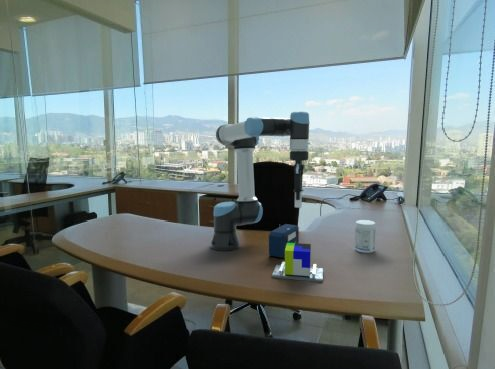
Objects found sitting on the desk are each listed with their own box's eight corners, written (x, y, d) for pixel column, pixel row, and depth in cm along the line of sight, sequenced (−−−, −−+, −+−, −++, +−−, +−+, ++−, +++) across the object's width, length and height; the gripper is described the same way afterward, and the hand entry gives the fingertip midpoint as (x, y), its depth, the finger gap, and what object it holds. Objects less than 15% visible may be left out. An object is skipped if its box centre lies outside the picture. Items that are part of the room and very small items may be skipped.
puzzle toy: (310, 276, 126) (310, 251, 125) (284, 274, 128) (284, 250, 127) (310, 266, 136) (310, 244, 134) (287, 264, 138) (287, 242, 136)
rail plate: (272, 277, 129) (272, 270, 129) (276, 267, 140) (276, 260, 139) (322, 282, 124) (322, 274, 124) (322, 271, 135) (323, 264, 134)
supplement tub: (364, 246, 167) (365, 218, 165) (379, 251, 158) (380, 222, 156) (350, 249, 162) (351, 221, 160) (364, 254, 154) (365, 225, 152)
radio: (283, 260, 148) (283, 218, 146) (267, 257, 153) (267, 216, 150) (301, 247, 166) (301, 210, 163) (285, 245, 170) (285, 208, 168)
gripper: (307, 151, 122) (305, 211, 125) (309, 149, 134) (308, 204, 138) (287, 151, 124) (286, 210, 127) (292, 149, 136) (291, 203, 140)
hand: (298, 207), depth 132 cm, fingers closed
